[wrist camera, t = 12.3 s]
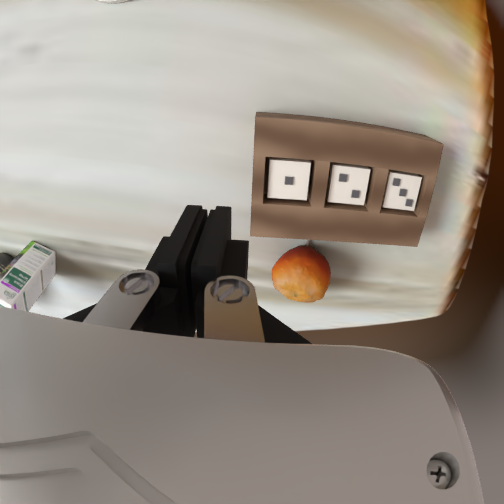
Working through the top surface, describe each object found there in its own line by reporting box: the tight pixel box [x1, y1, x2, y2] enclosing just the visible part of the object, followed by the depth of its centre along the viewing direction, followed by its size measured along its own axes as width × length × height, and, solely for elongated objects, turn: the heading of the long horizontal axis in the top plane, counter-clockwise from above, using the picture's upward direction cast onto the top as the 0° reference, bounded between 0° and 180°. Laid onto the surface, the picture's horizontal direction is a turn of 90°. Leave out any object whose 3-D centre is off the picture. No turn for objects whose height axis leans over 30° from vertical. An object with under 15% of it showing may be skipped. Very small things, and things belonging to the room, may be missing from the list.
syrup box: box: [0, 241, 56, 312], centre depth 40 cm, size 6×6×14 cm
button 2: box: [326, 162, 370, 205], centre depth 35 cm, size 4×4×2 cm
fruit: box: [272, 239, 331, 302], centre depth 42 cm, size 8×8×8 cm
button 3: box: [381, 169, 422, 211], centre depth 34 cm, size 4×4×2 cm
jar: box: [0, 253, 14, 274], centre depth 46 cm, size 10×10×8 cm
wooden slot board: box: [250, 112, 443, 247], centre depth 35 cm, size 14×22×5 cm, turn 88°
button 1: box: [267, 157, 311, 200], centre depth 35 cm, size 4×4×2 cm
